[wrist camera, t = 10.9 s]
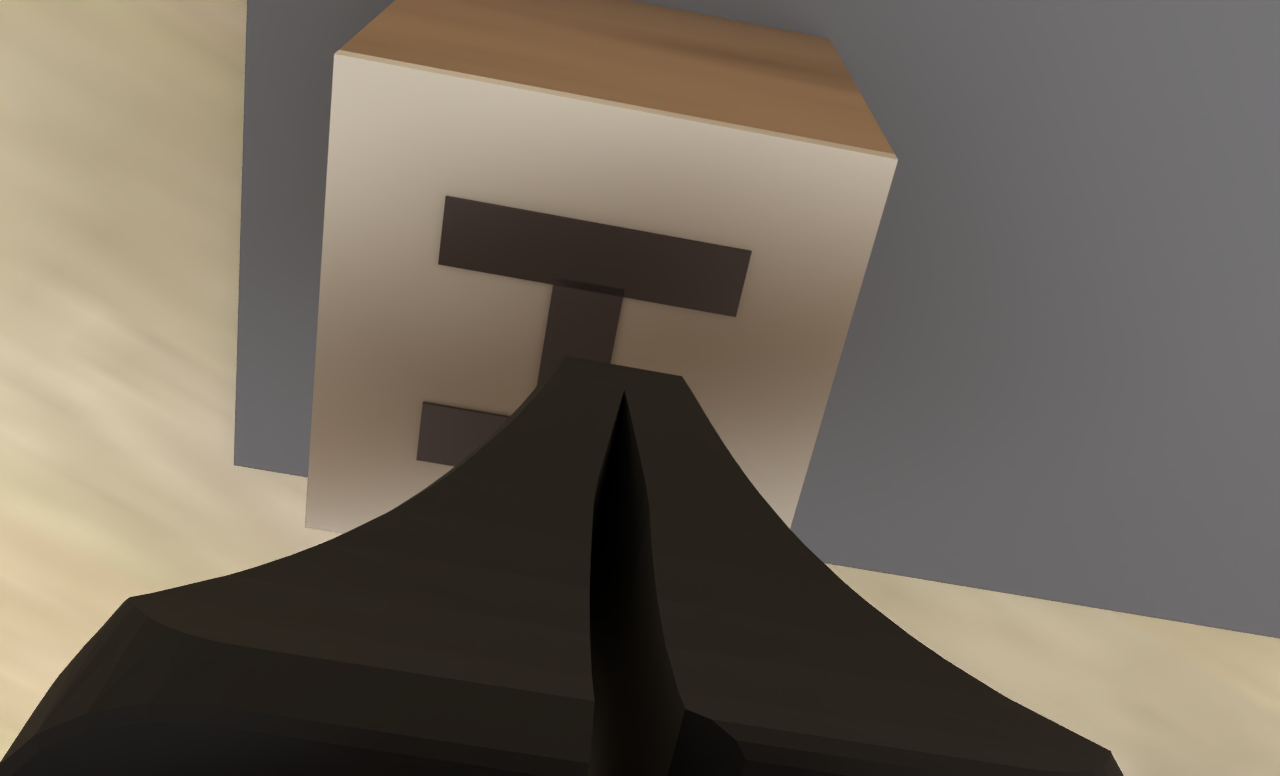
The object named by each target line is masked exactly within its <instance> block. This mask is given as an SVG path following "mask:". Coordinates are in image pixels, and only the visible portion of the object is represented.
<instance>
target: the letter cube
mask: <svg viewBox="0 0 1280 776" xmlns="http://www.w3.org/2000/svg"><path fill="white" fill-rule="evenodd" d="M897 162H898V159H897V157H896V155H895V153H894V152H893V150H892V148H891V146H890V145H889V143H888V141H887V139H886V137H885V136H884V134H883V132H882V130H881V129H880V127H879V125H878V123H877V122H876V120H875V118H874V116H873V115H872V113H871V111H870V109H869V108H868V106H867V104H866V102H865V100H864V99H863V97H862V95H861V93H860V92H859V90H858V88H857V86H856V85H855V83H854V81H853V79H852V78H851V76H850V74H849V72H848V71H847V69H846V67H845V65H844V63H843V62H842V60H841V58H840V56H839V55H838V53H837V51H836V49H835V48H834V46H833V44H832V42H831V41H830V39H829V38H823V37H818V36H813V35H808V34H803V33H798V32H793V31H787V30H782V29H777V28H772V27H767V26H762V25H756V24H751V23H746V22H741V21H736V20H731V19H725V18H720V17H715V16H710V15H705V14H700V13H694V12H689V11H684V10H679V9H674V8H669V7H663V6H658V5H653V4H648V3H643V2H638V1H632V0H395V1H394V2H393V3H391V4H390V5H389V6H388V7H387V8H386V9H385V10H384V11H382V12H381V13H380V14H379V15H378V16H377V17H376V18H374V19H373V20H372V21H371V22H370V23H369V24H368V25H366V26H365V27H364V28H363V29H362V30H361V31H360V32H359V33H357V34H356V35H355V36H354V37H353V38H352V39H351V40H349V41H348V42H347V43H346V44H345V45H344V46H343V47H341V48H340V49H339V50H338V51H337V52H336V53H335V54H334V65H333V81H332V97H331V113H330V130H329V146H328V162H327V178H326V195H325V211H324V227H323V243H322V260H321V276H320V292H319V308H318V324H317V341H316V357H315V373H314V389H313V406H312V422H311V438H310V454H309V470H308V487H307V503H306V519H305V528H312V529H318V530H324V531H330V532H336V533H342V534H344V533H346V532H348V531H350V530H352V529H354V528H356V527H358V526H361V525H363V524H365V523H367V522H369V521H371V520H373V519H375V518H377V517H379V516H381V515H383V514H385V513H387V512H389V511H391V510H392V509H394V508H396V507H397V506H399V505H400V504H402V503H403V502H405V501H407V500H408V499H410V498H411V497H413V496H414V495H416V494H418V493H419V492H421V491H422V490H423V489H425V488H426V487H428V486H429V485H431V484H432V483H433V482H435V481H436V480H438V479H439V478H440V477H442V476H443V475H444V474H446V473H447V472H448V471H450V470H451V469H452V468H453V467H454V466H456V465H457V464H458V463H459V462H460V461H462V460H463V459H464V458H465V457H466V456H468V455H469V454H470V453H471V452H472V451H473V450H475V449H476V448H477V447H478V446H479V445H481V444H482V443H483V442H484V441H485V440H486V439H488V438H489V437H490V436H491V435H492V434H493V433H494V432H495V431H496V430H497V429H498V428H499V427H500V426H501V425H502V424H503V423H504V422H505V421H506V420H507V419H508V418H509V417H510V416H511V415H512V414H513V413H514V412H515V411H516V410H517V409H518V408H519V406H520V405H521V404H522V403H523V402H524V401H525V400H526V398H527V397H528V396H529V395H530V394H531V393H532V391H533V390H534V389H535V388H536V387H537V385H538V384H539V383H540V381H541V380H542V379H543V377H544V376H545V374H546V373H547V371H548V369H549V367H550V365H551V363H553V362H555V361H556V360H558V359H559V358H561V357H563V356H569V357H575V358H581V359H587V360H592V361H598V362H604V363H610V364H615V365H621V366H627V367H632V368H638V369H644V370H650V371H655V372H661V373H667V374H673V375H678V376H682V377H683V378H684V380H685V381H686V383H687V384H688V386H689V387H690V389H691V390H692V392H693V394H694V395H695V397H696V399H697V400H698V402H699V404H700V406H701V407H702V409H703V411H704V412H705V414H706V416H707V417H708V419H709V420H710V422H711V424H712V425H713V427H714V428H715V430H716V432H717V433H718V435H719V436H720V438H721V440H722V441H723V443H724V444H725V446H726V447H727V449H728V450H729V452H730V453H731V455H732V456H733V458H734V459H735V460H736V462H737V463H738V465H739V466H740V467H741V469H742V470H743V472H744V473H745V475H746V476H747V477H748V479H749V480H750V481H751V483H752V484H753V485H754V487H755V488H756V489H757V490H758V492H759V493H760V494H761V495H762V497H763V498H764V499H765V500H766V501H767V503H768V504H769V505H770V506H771V507H772V509H773V510H774V511H775V512H776V513H777V514H778V516H779V517H780V518H781V519H782V520H783V522H784V523H785V524H786V525H787V526H788V527H789V528H790V527H791V524H792V520H793V517H794V514H795V510H796V507H797V503H798V500H799V497H800V493H801V490H802V486H803V483H804V479H805V476H806V473H807V469H808V466H809V462H810V459H811V456H812V452H813V449H814V445H815V442H816V438H817V435H818V432H819V428H820V425H821V421H822V418H823V415H824V411H825V408H826V404H827V401H828V398H829V394H830V391H831V387H832V384H833V380H834V377H835V374H836V370H837V367H838V363H839V360H840V357H841V353H842V350H843V346H844V343H845V339H846V336H847V333H848V329H849V326H850V322H851V319H852V316H853V312H854V309H855V305H856V302H857V298H858V295H859V292H860V288H861V285H862V281H863V278H864V275H865V271H866V268H867V264H868V261H869V258H870V254H871V251H872V247H873V244H874V240H875V237H876V234H877V230H878V227H879V223H880V220H881V217H882V213H883V210H884V206H885V203H886V199H887V196H888V193H889V189H890V186H891V182H892V179H893V176H894V172H895V169H896V165H897Z"/></svg>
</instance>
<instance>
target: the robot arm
mask: <svg viewBox="0 0 1280 776" xmlns="http://www.w3.org/2000/svg"><path fill="white" fill-rule="evenodd" d="M0 776H1123V774H1122V772H1121V770H1120V768H1119V766H1118V764H1117V763H1116V761H1115V759H1114V757H1113V755H1112V753H1111V751H1109V750H1107V749H1105V748H1103V747H1102V746H1100V745H1098V744H1096V743H1094V742H1092V741H1090V740H1088V739H1086V738H1084V737H1082V736H1080V735H1078V734H1076V733H1074V732H1072V731H1070V730H1069V729H1067V728H1065V727H1063V726H1061V725H1059V724H1057V723H1055V722H1053V721H1051V720H1049V719H1047V718H1045V717H1043V716H1041V715H1039V714H1037V713H1035V712H1034V711H1032V710H1030V709H1028V708H1026V707H1024V706H1022V705H1020V704H1018V703H1016V702H1014V701H1012V700H1010V699H1009V698H1007V697H1005V696H1003V695H1002V694H1000V693H998V692H997V691H995V690H993V689H992V688H990V687H989V686H987V685H985V684H984V683H982V682H980V681H979V680H977V679H976V678H974V677H972V676H971V675H969V674H968V673H966V672H964V671H963V670H961V669H960V668H958V667H956V666H955V665H953V664H951V663H950V662H948V661H947V660H945V659H944V658H942V657H941V656H939V655H938V654H936V653H935V652H934V651H932V650H931V649H929V648H928V647H926V646H925V645H923V644H922V643H920V642H919V641H918V640H916V639H915V638H913V637H912V636H911V635H909V634H908V633H907V632H905V631H904V630H903V629H901V628H900V627H899V626H897V625H896V624H895V623H894V622H892V621H891V620H890V619H888V618H887V617H886V616H885V615H883V614H882V613H881V612H879V611H878V610H877V609H876V608H874V607H873V606H872V605H870V604H869V603H868V602H867V601H865V600H864V599H863V598H862V597H861V596H859V595H858V594H857V593H856V592H855V591H854V590H852V589H851V588H850V587H849V586H848V585H847V584H845V583H844V582H843V581H842V580H841V579H840V578H839V577H838V576H837V575H836V574H835V573H834V572H833V571H832V570H831V569H829V568H828V567H827V566H826V565H825V564H824V563H823V562H822V561H821V560H820V559H819V558H818V557H817V556H816V555H815V554H814V553H813V552H812V551H811V550H810V549H809V548H808V547H807V546H806V545H805V544H804V543H803V542H802V541H801V540H800V539H799V538H798V537H797V536H796V535H795V534H794V533H793V532H792V531H791V530H790V528H789V527H788V526H787V525H786V524H785V523H784V522H783V520H782V519H781V518H780V517H779V516H778V514H777V513H776V512H775V511H774V510H773V509H772V507H771V506H770V505H769V504H768V503H767V501H766V500H765V499H764V498H763V497H762V495H761V494H760V493H759V492H758V490H757V489H756V488H755V487H754V485H753V484H752V483H751V481H750V480H749V479H748V477H747V476H746V475H745V473H744V472H743V470H742V469H741V467H740V466H739V465H738V463H737V462H736V460H735V459H734V458H733V456H732V455H731V453H730V452H729V450H728V449H727V447H726V446H725V444H724V443H723V441H722V440H721V438H720V436H719V435H718V433H717V432H716V430H715V428H714V427H713V425H712V424H711V422H710V420H709V419H708V417H707V416H706V414H705V412H704V411H703V409H702V407H701V406H700V404H699V402H698V400H697V399H696V397H695V395H694V394H693V392H692V390H691V389H690V387H689V386H688V384H687V383H686V381H685V380H684V378H683V377H682V376H678V375H673V374H667V373H661V372H655V371H650V370H644V369H638V368H632V367H627V366H621V365H615V364H610V363H604V362H598V361H592V360H587V359H581V358H575V357H569V356H563V357H561V358H559V359H558V360H556V361H555V362H553V363H551V365H550V367H549V369H548V371H547V373H546V374H545V376H544V377H543V379H542V380H541V381H540V383H539V384H538V385H537V387H536V388H535V389H534V390H533V391H532V393H531V394H530V395H529V396H528V397H527V398H526V400H525V401H524V402H523V403H522V404H521V405H520V406H519V408H518V409H517V410H516V411H515V412H514V413H513V414H512V415H511V416H510V417H509V418H508V419H507V420H506V421H505V422H504V423H503V424H502V425H501V426H500V427H499V428H498V429H497V430H496V431H495V432H494V433H493V434H492V435H491V436H490V437H489V438H488V439H486V440H485V441H484V442H483V443H482V444H481V445H479V446H478V447H477V448H476V449H475V450H473V451H472V452H471V453H470V454H469V455H468V456H466V457H465V458H464V459H463V460H462V461H460V462H459V463H458V464H457V465H456V466H454V467H453V468H452V469H451V470H450V471H448V472H447V473H446V474H444V475H443V476H442V477H440V478H439V479H438V480H436V481H435V482H433V483H432V484H431V485H429V486H428V487H426V488H425V489H423V490H422V491H421V492H419V493H418V494H416V495H414V496H413V497H411V498H410V499H408V500H407V501H405V502H403V503H402V504H400V505H399V506H397V507H396V508H394V509H392V510H391V511H389V512H387V513H385V514H383V515H381V516H379V517H377V518H375V519H373V520H371V521H369V522H367V523H365V524H363V525H361V526H358V527H356V528H354V529H352V530H350V531H348V532H346V533H344V534H342V535H340V536H338V537H336V538H334V539H331V540H329V541H327V542H324V543H322V544H319V545H317V546H314V547H311V548H309V549H306V550H304V551H301V552H298V553H296V554H293V555H291V556H288V557H285V558H282V559H279V560H276V561H273V562H270V563H267V564H264V565H261V566H258V567H255V568H251V569H248V570H244V571H241V572H238V573H234V574H231V575H227V576H223V577H219V578H214V579H210V580H206V581H202V582H197V583H193V584H189V585H185V586H180V587H176V588H172V589H168V590H163V591H159V592H155V593H150V594H145V595H139V596H134V597H130V598H128V599H127V600H126V601H124V602H123V603H122V605H121V606H120V607H119V608H118V609H117V610H116V611H115V613H114V614H113V615H112V616H111V617H110V618H109V620H108V621H107V622H106V623H105V624H104V625H103V626H102V627H101V629H100V630H99V631H98V632H97V633H96V634H95V635H94V636H93V637H92V638H91V639H90V640H89V641H88V642H87V643H86V645H85V646H84V647H83V648H82V649H81V650H80V652H79V653H78V654H77V655H76V656H75V657H74V659H73V660H72V661H71V662H70V663H69V665H68V666H67V667H66V668H65V669H64V670H63V672H62V673H61V674H60V675H59V676H58V678H57V679H56V680H55V682H54V683H53V684H52V686H51V687H50V689H49V690H48V692H47V693H46V694H45V696H44V697H43V699H42V700H41V702H40V703H39V705H38V706H37V707H36V709H35V710H34V712H33V713H32V715H31V717H30V718H29V720H28V721H27V723H26V724H25V726H24V727H23V729H22V730H21V732H20V733H19V735H18V736H17V738H16V739H15V741H14V742H13V744H12V745H11V747H10V748H9V750H8V751H7V753H6V754H5V756H4V757H3V759H2V761H1V762H0Z"/></svg>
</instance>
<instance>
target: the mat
mask: <svg viewBox="0 0 1280 776" xmlns="http://www.w3.org/2000/svg"><path fill="white" fill-rule="evenodd" d="M394 1H395V0H247V27H246V61H245V96H244V131H243V166H242V201H241V236H240V271H239V306H238V341H237V376H236V410H235V445H234V465H236V466H242V467H248V468H254V469H260V470H266V471H272V472H278V473H284V474H290V475H297V476H303V477H308V470H309V454H310V438H311V422H312V406H313V389H314V373H315V357H316V341H317V324H318V308H319V292H320V276H321V260H322V243H323V227H324V211H325V195H326V178H327V162H328V146H329V130H330V113H331V97H332V81H333V65H334V54H335V53H336V52H337V51H338V50H339V49H340V48H341V47H343V46H344V45H345V44H346V43H347V42H348V41H349V40H351V39H352V38H353V37H354V36H355V35H356V34H357V33H359V32H360V31H361V30H362V29H363V28H364V27H365V26H366V25H368V24H369V23H370V22H371V21H372V20H373V19H374V18H376V17H377V16H378V15H379V14H380V13H381V12H382V11H384V10H385V9H386V8H387V7H388V6H389V5H390V4H391V3H393V2H394ZM632 1H638V2H643V3H648V4H653V5H658V6H663V7H669V8H674V9H679V10H684V11H689V12H694V13H700V14H705V15H710V16H715V17H720V18H725V19H731V20H736V21H741V22H746V23H751V24H756V25H762V26H767V27H772V28H777V29H782V30H787V31H793V32H798V33H803V34H808V35H813V36H818V37H823V38H829V39H830V41H831V42H832V44H833V46H834V48H835V49H836V51H837V53H838V55H839V56H840V58H841V60H842V62H843V63H844V65H845V67H846V69H847V71H848V72H849V74H850V76H851V78H852V79H853V81H854V83H855V85H856V86H857V88H858V90H859V92H860V93H861V95H862V97H863V99H864V100H865V102H866V104H867V106H868V108H869V109H870V111H871V113H872V115H873V116H874V118H875V120H876V122H877V123H878V125H879V127H880V129H881V130H882V132H883V134H884V136H885V137H886V139H887V141H888V143H889V145H890V146H891V148H892V150H893V152H894V153H895V155H896V157H897V159H898V162H897V165H896V169H895V172H894V176H893V179H892V182H891V186H890V189H889V193H888V196H887V199H886V203H885V206H884V210H883V213H882V217H881V220H880V223H879V227H878V230H877V234H876V237H875V240H874V244H873V247H872V251H871V254H870V258H869V261H868V264H867V268H866V271H865V275H864V278H863V281H862V285H861V288H860V292H859V295H858V298H857V302H856V305H855V309H854V312H853V316H852V319H851V322H850V326H849V329H848V333H847V336H846V339H845V343H844V346H843V350H842V353H841V357H840V360H839V363H838V367H837V370H836V374H835V377H834V380H833V384H832V387H831V391H830V394H829V398H828V401H827V404H826V408H825V411H824V415H823V418H822V421H821V425H820V428H819V432H818V435H817V438H816V442H815V445H814V449H813V452H812V456H811V459H810V462H809V466H808V469H807V473H806V476H805V479H804V483H803V486H802V490H801V493H800V497H799V500H798V503H797V507H796V510H795V514H794V517H793V520H792V524H791V527H790V530H791V531H792V532H793V533H794V534H795V535H796V536H797V537H798V538H799V539H800V540H801V541H802V542H803V543H804V544H805V545H806V546H807V547H808V548H809V549H810V550H811V551H812V552H813V553H814V554H815V555H816V556H817V557H818V558H819V559H820V560H821V561H822V562H823V563H828V564H834V565H840V566H846V567H852V568H858V569H864V570H870V571H876V572H882V573H888V574H894V575H900V576H906V577H912V578H918V579H924V580H930V581H936V582H942V583H948V584H955V585H961V586H967V587H973V588H979V589H985V590H991V591H997V592H1003V593H1009V594H1015V595H1021V596H1027V597H1033V598H1039V599H1045V600H1051V601H1057V602H1063V603H1069V604H1075V605H1081V606H1087V607H1093V608H1099V609H1105V610H1111V611H1117V612H1124V613H1130V614H1136V615H1142V616H1148V617H1154V618H1160V619H1166V620H1172V621H1178V622H1184V623H1190V624H1196V625H1202V626H1208V627H1214V628H1220V629H1226V630H1232V631H1238V632H1244V633H1250V634H1256V635H1262V636H1268V637H1274V638H1280V0H632Z"/></svg>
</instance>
